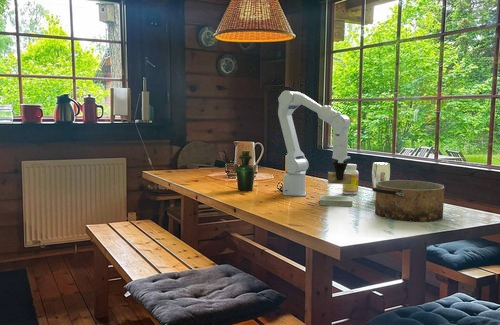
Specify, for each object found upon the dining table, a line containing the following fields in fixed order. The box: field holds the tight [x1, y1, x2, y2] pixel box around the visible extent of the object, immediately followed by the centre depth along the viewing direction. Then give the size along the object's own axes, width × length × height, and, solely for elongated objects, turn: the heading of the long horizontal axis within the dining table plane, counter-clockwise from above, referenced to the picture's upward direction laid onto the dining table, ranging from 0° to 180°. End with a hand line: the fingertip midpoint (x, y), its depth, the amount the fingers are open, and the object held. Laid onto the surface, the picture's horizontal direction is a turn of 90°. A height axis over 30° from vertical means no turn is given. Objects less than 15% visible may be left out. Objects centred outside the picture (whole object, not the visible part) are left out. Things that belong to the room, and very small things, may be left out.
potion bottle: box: [235, 149, 255, 192], centre depth 211 cm, size 8×8×18 cm
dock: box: [319, 194, 353, 207], centre depth 184 cm, size 12×10×2 cm
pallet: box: [327, 171, 352, 185], centre depth 191 cm, size 9×5×4 cm, turn 82°
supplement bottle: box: [342, 163, 360, 196], centre depth 206 cm, size 7×7×13 cm
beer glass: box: [371, 161, 391, 201], centre depth 192 cm, size 7×7×15 cm
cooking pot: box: [371, 179, 445, 223], centre depth 164 cm, size 30×22×11 cm
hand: (339, 179), depth 191 cm, fingers closed on pallet, 5 cm apart
